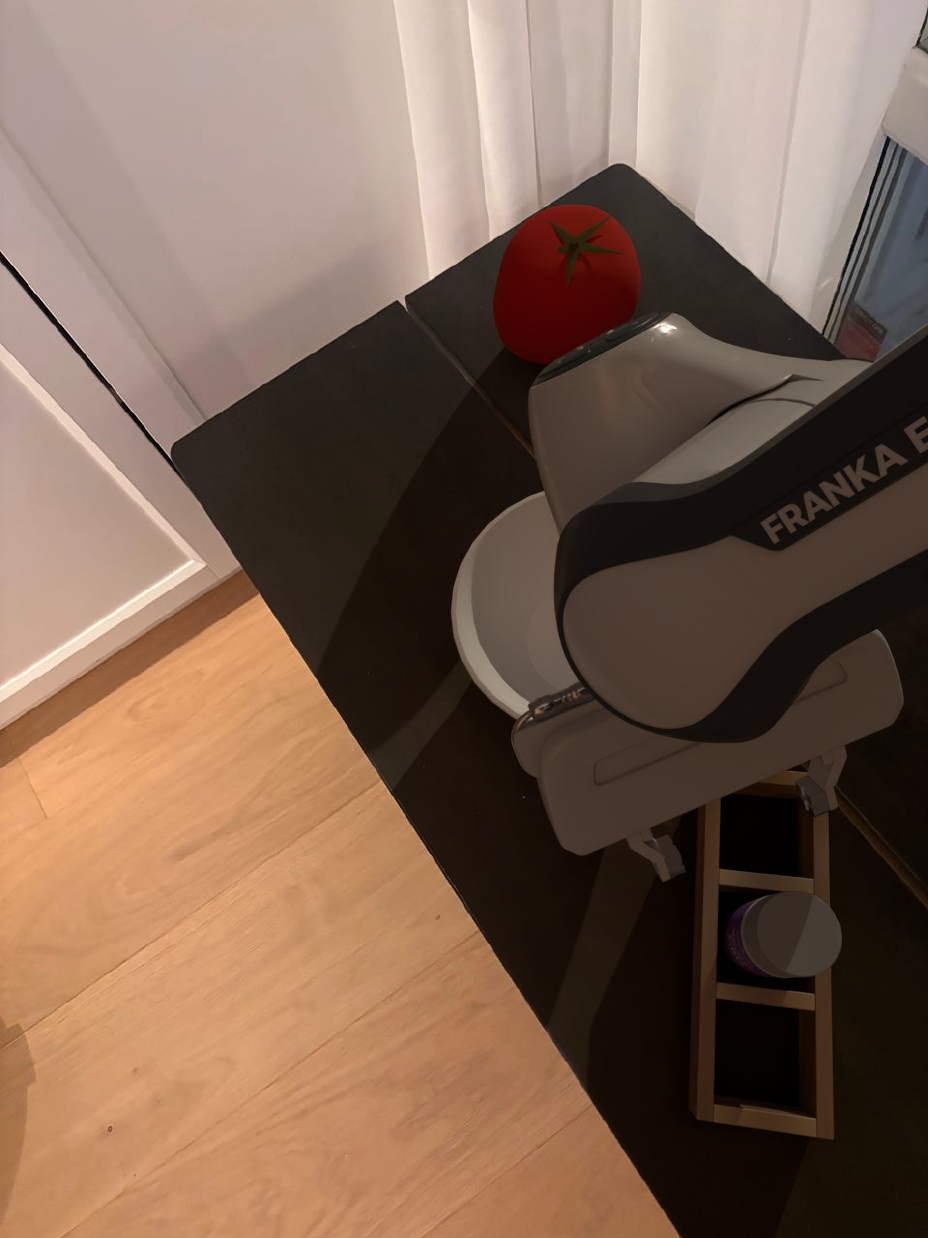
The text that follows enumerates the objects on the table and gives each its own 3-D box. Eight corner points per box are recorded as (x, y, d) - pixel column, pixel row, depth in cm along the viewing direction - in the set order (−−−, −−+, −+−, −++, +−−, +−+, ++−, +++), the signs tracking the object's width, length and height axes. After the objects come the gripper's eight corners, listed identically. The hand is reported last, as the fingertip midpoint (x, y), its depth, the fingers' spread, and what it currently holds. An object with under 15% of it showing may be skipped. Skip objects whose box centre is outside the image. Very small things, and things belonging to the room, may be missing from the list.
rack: (811, 787, 66) (827, 774, 62) (815, 1126, 59) (834, 1140, 54) (698, 777, 68) (706, 763, 63) (688, 1107, 60) (696, 1119, 55)
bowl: (428, 590, 76) (410, 548, 68) (640, 495, 76) (646, 442, 69) (525, 804, 68) (517, 784, 61) (759, 698, 69) (780, 665, 61)
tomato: (465, 332, 84) (448, 241, 74) (578, 248, 86) (577, 148, 76) (552, 415, 80) (546, 331, 69) (669, 325, 82) (681, 230, 71)
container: (704, 941, 64) (736, 935, 50) (745, 890, 64) (789, 869, 50) (760, 991, 62) (809, 999, 48) (802, 937, 63) (862, 930, 49)
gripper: (513, 745, 44) (596, 947, 50) (898, 582, 44) (939, 801, 50) (488, 689, 50) (564, 876, 55) (829, 546, 50) (872, 745, 56)
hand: (745, 839), depth 53 cm, fingers open, 8 cm apart
